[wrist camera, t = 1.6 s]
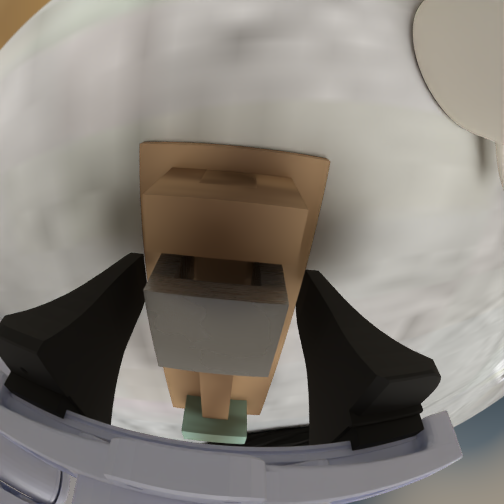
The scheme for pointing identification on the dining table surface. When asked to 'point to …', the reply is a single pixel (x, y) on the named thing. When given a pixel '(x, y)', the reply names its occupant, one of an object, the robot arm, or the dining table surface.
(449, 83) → the cup
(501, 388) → the dining table surface
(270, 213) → the rail
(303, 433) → the cable lock
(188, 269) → the keeper
